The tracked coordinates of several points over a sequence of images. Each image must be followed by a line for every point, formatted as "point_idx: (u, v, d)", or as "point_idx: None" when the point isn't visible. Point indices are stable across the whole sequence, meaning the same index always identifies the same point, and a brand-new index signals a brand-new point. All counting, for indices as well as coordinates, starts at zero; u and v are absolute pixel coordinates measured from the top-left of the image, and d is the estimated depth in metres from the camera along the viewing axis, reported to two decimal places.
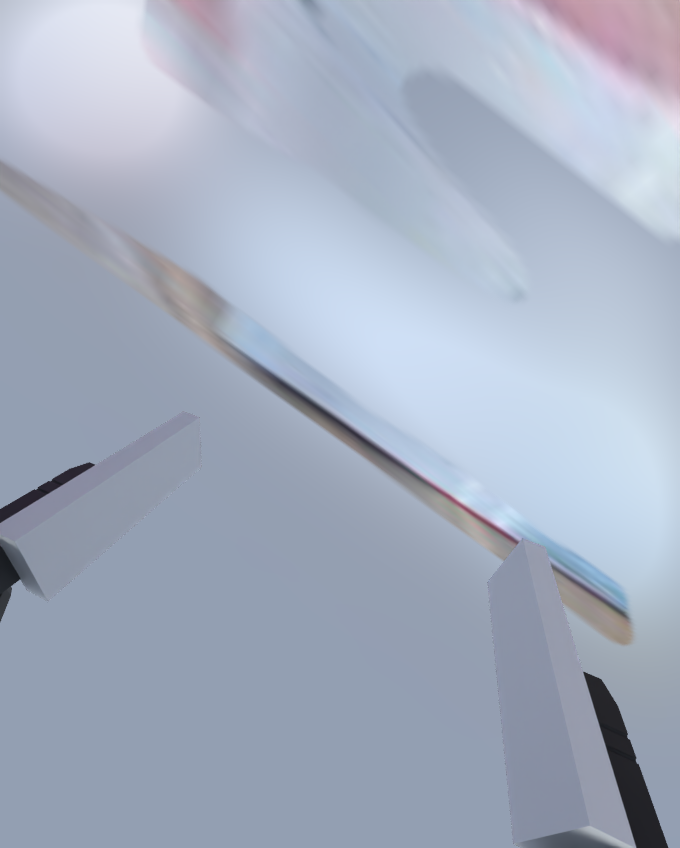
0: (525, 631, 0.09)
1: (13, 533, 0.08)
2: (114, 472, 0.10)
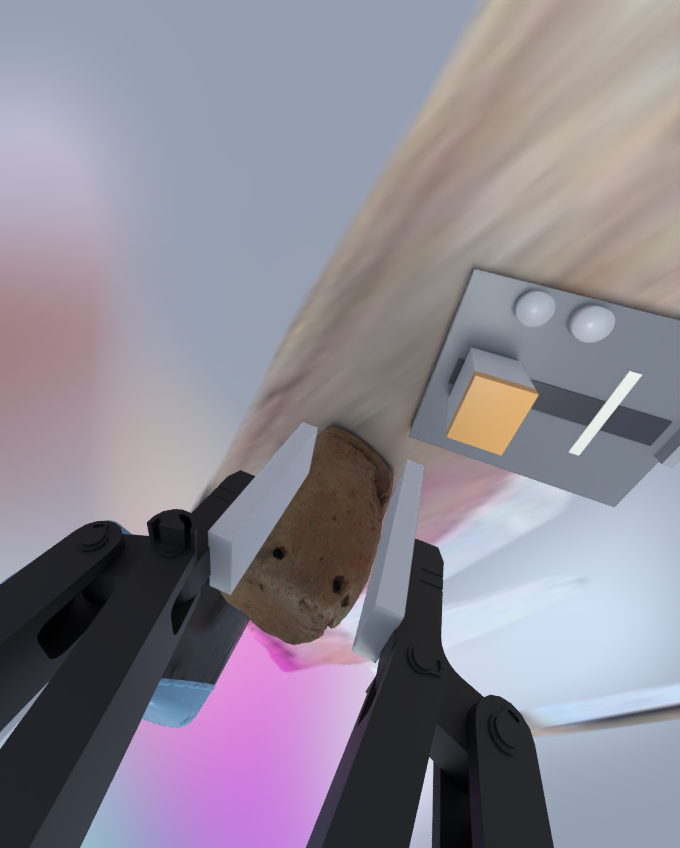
0: (390, 519, 0.11)
1: (226, 535, 0.09)
2: (275, 480, 0.11)
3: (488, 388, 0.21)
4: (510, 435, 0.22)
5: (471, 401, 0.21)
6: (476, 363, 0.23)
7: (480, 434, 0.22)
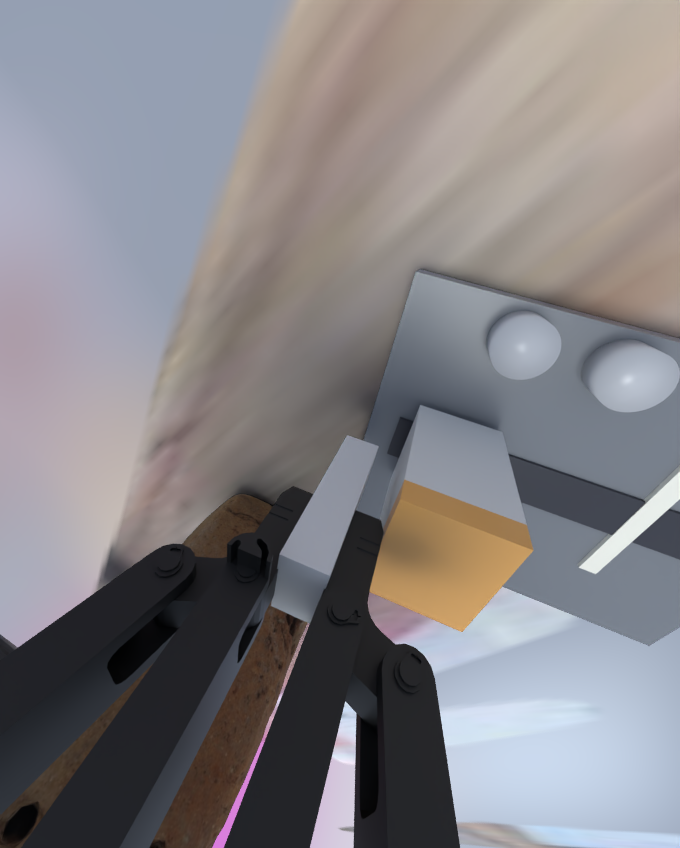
0: None
1: (298, 557, 0.09)
2: (333, 497, 0.11)
3: (427, 524, 0.10)
4: (477, 606, 0.11)
5: (397, 541, 0.11)
6: (415, 451, 0.12)
7: (419, 595, 0.12)
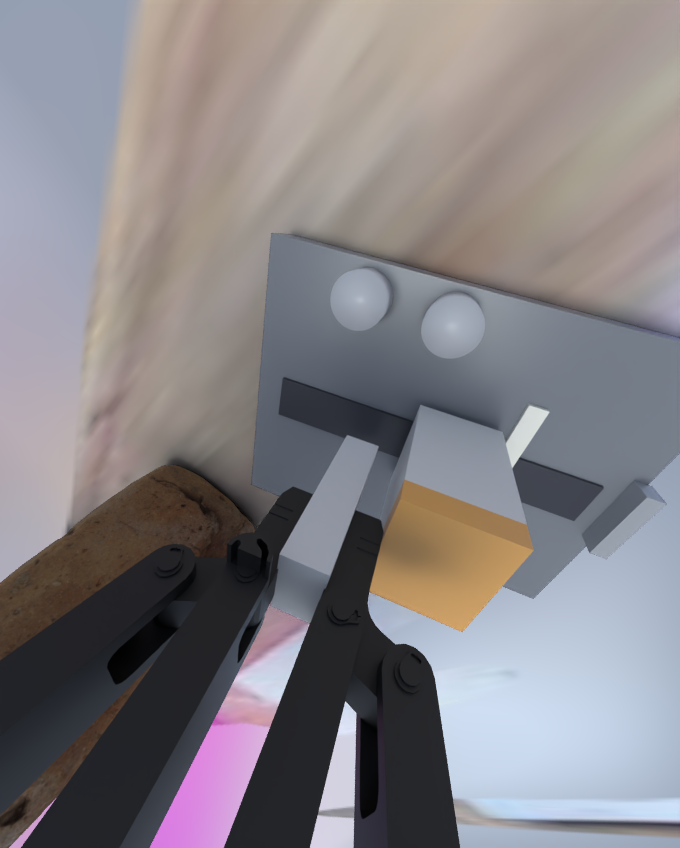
0: None
1: (298, 557, 0.09)
2: (333, 497, 0.11)
3: (428, 524, 0.10)
4: (477, 606, 0.11)
5: (397, 541, 0.11)
6: (416, 451, 0.12)
7: (419, 594, 0.12)
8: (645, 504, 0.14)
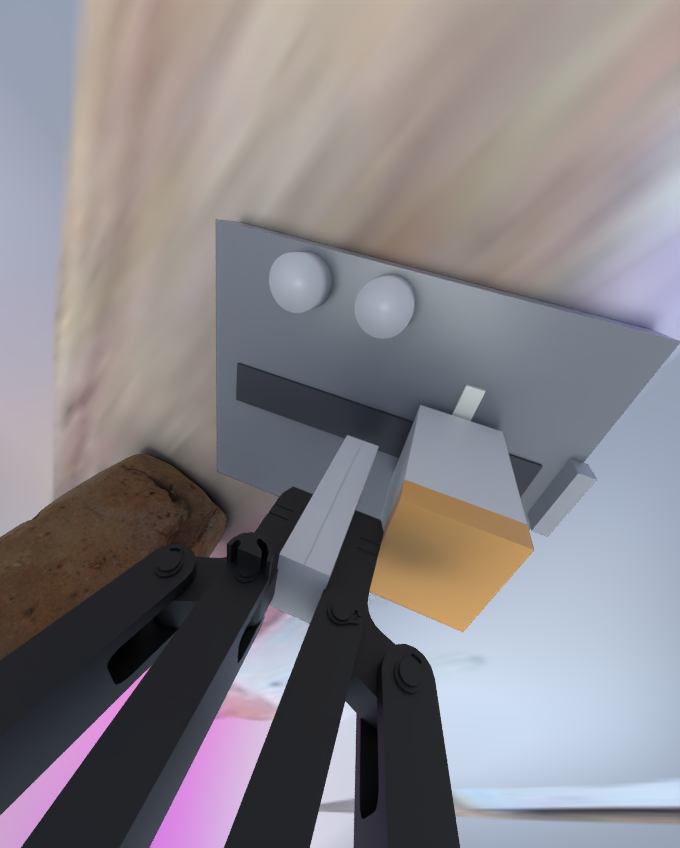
0: None
1: (298, 557, 0.09)
2: (333, 497, 0.11)
3: (428, 524, 0.10)
4: (477, 606, 0.11)
5: (398, 541, 0.11)
6: (416, 451, 0.12)
7: (420, 595, 0.12)
8: (577, 480, 0.14)
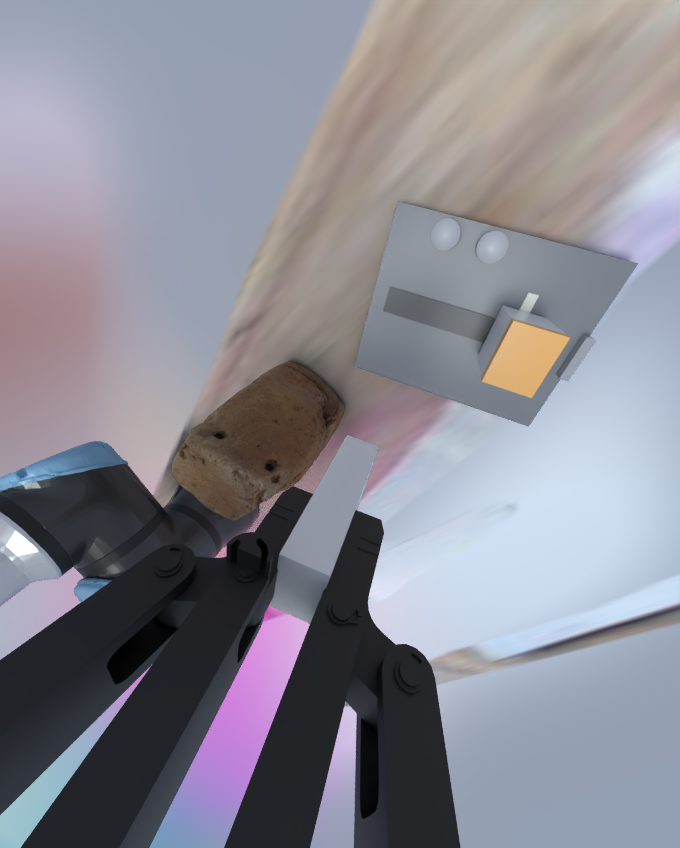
0: None
1: (297, 557, 0.09)
2: (333, 497, 0.11)
3: (524, 332, 0.23)
4: (541, 378, 0.24)
5: (507, 345, 0.24)
6: (511, 314, 0.25)
7: (513, 378, 0.25)
8: (586, 342, 0.28)
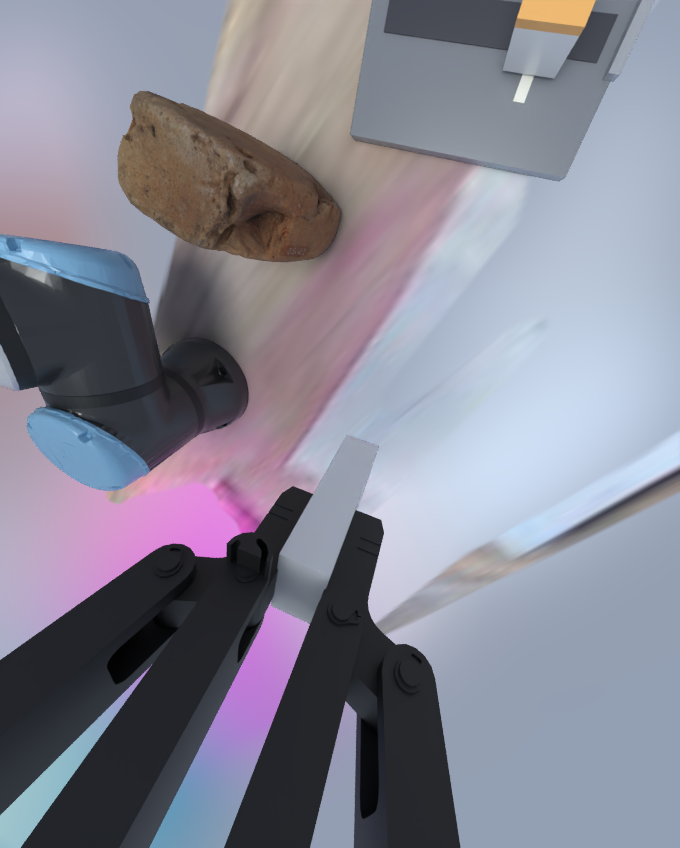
0: None
1: (297, 557, 0.09)
2: (333, 497, 0.11)
3: None
4: None
5: None
6: None
7: None
8: None
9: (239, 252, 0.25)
